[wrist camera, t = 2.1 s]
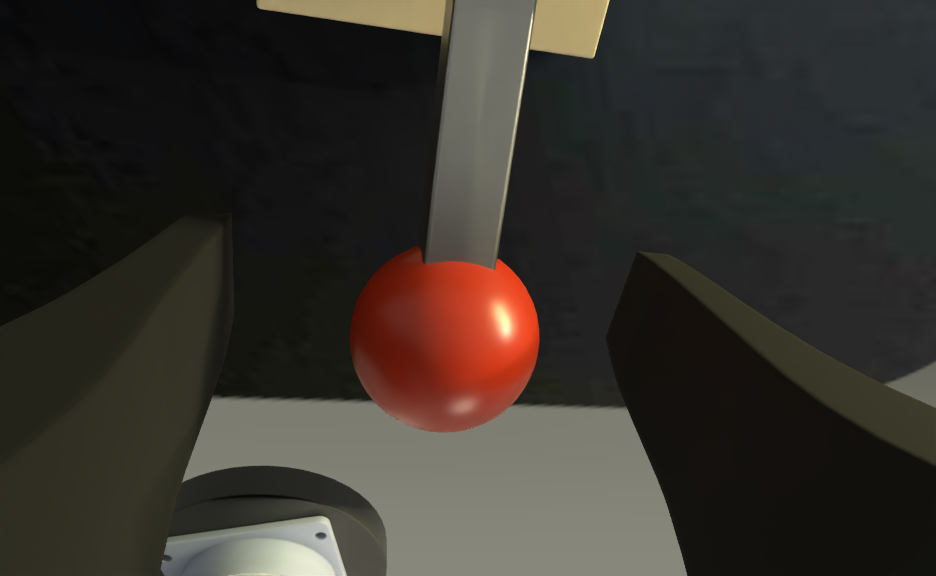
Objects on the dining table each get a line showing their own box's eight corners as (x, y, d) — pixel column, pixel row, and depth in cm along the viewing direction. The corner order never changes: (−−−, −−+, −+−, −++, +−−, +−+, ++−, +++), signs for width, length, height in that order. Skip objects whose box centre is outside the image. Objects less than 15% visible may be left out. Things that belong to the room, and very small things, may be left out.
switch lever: (502, 381, 13) (543, 473, 10) (344, 372, 12) (339, 469, 9) (619, -315, 9) (732, -472, 6) (406, -370, 9) (428, -571, 6)
